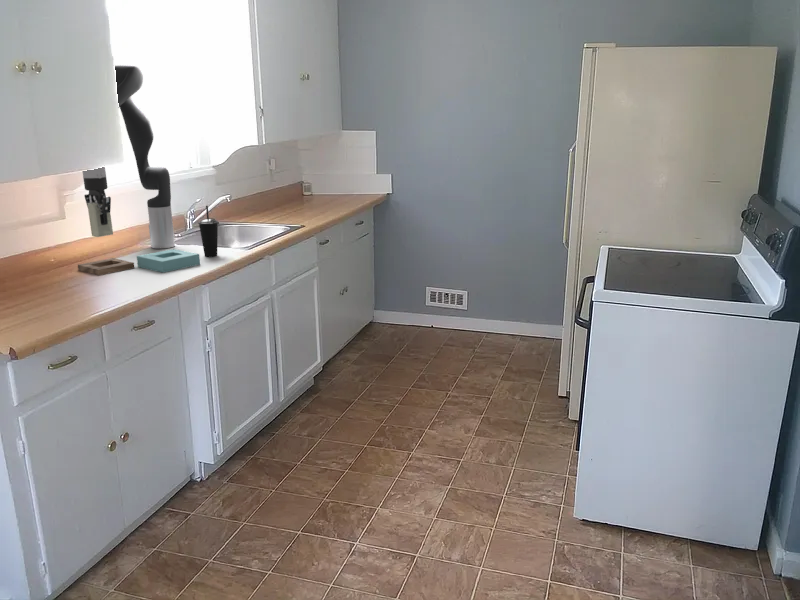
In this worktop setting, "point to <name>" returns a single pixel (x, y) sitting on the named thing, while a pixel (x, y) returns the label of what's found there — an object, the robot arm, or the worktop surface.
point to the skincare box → (98, 222)
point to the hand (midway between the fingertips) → (100, 223)
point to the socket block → (168, 260)
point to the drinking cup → (209, 235)
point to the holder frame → (105, 266)
